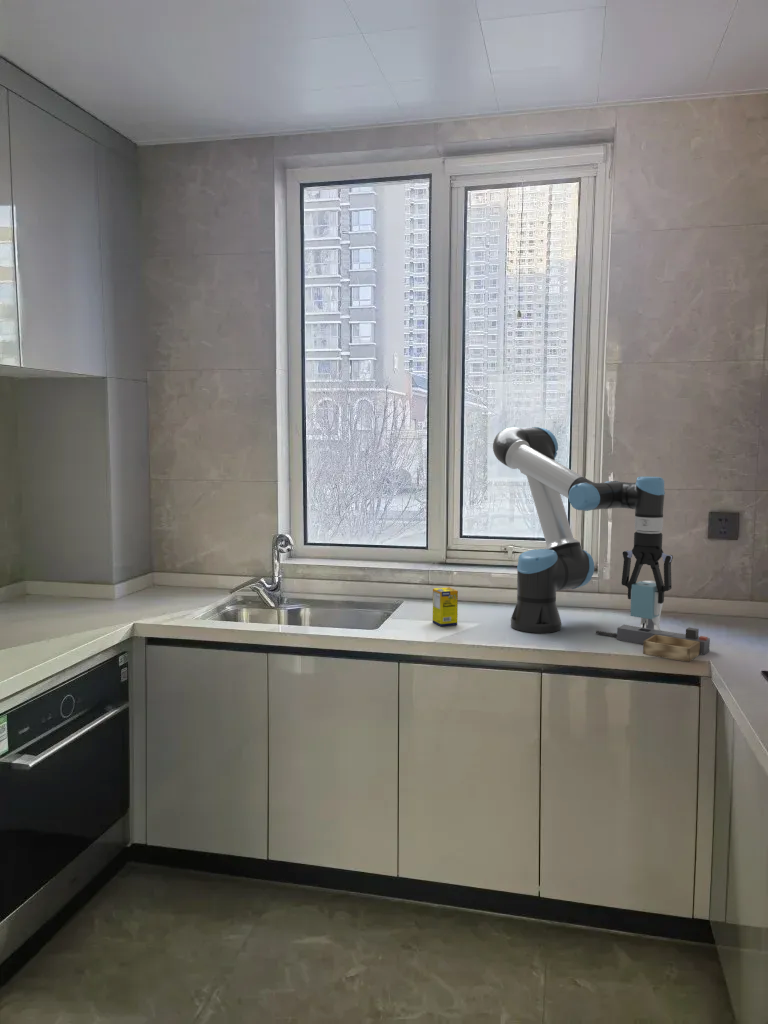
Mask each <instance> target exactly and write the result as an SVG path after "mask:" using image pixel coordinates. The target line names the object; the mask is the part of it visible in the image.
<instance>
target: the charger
mask: <svg viewBox="0 0 768 1024" xmlns="http://www.w3.org/2000/svg"><path fill="white" fill-rule="evenodd" d="M657 591H658V590H657V586H656V584H655V583H647V582H640V581H636V583H635V584H632V593H631V599H630V607H631V612H630V617H635V618H640V623H641V625H642V624H643V618H646V625H648V619H653V618H655V617H657V616H659V615H657V616H656V615H654V602H655V592H657Z"/></svg>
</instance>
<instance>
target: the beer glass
mask: <svg viewBox="0 0 768 1024" xmlns="http://www.w3.org/2000/svg"><path fill="white" fill-rule="evenodd" d="M639 582H647V583H655V584H656V582H655V580H652V579H651V580H648V579H647V580H646V579H645V580H640V581H639ZM663 605H664V602H663V603H662V604H660V614H659V616H657V617H655V618H653V619H648V625H646V618H643V624H642V625H641V622H640V624H639V627H642V628H648V629H655V630H661V626H660V624H661V623H660V622H661V621H660V619H661V614H662V610H663Z"/></svg>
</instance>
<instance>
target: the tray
mask: <svg viewBox="0 0 768 1024" xmlns="http://www.w3.org/2000/svg"><path fill="white" fill-rule="evenodd" d="M642 645H643V647H642V648H643V650H642V655H647V656H654V657H658V658H664V659H670V660H674V661H675V660H677V661H681V662H687V663H690V662H691V661H692V660H694V659H695V658H698V656H700V655H701V654H700V642H699V641H692V640H686V639H680V638H674V637H668V636H662V635H653V636H652V637H650V638H648V639H646V640H645V641H644V643H643V644H642Z"/></svg>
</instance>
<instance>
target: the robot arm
mask: <svg viewBox="0 0 768 1024" xmlns="http://www.w3.org/2000/svg"><path fill="white" fill-rule="evenodd" d="M492 449H493V451H492V452H493V453H494V456H495V457H496V459H497V460H498V461H499V462H500V463H502V464H503V465H504V466H506V467H508V468H510V469H512V470H517V469H518V470H519V471H520V474H523V475H525V476H526V479H527V481H528V486H529V489H530V492H531V495H532V499H533V503H534V506H535V509H536V513H537V516H538V519H539V524H540V527H541V530H542V534H543V537H544V540H545V544H546V546H545V548H538V549H529V550H526V551H524V552H522V553H520V554H519V556H518V558H517V560H518V561H517V567H516V569H517V576H516V577H517V578H516V579H517V583H516V585H517V586H516V588H517V589H516V595H517V596H516V603H515V606H514V609H513V611H512V614H511V618H510V627H511V628H512V629H514V630H517V631H520V632H525V633H535V634H537V633H538V634H547V633H548V634H550V633H554V632H558V631H560V630H561V629H562V619H561V617H560V612H559V609H558V605H557V592H558V591H563V590H570V589H572V590H573V589H574V590H575V589H577V588H581V587H583V586H586V585H587V584H588V583H590V581H591V580H592V578H593V576H594V573H595V562H594V559H593V556H592V555H591V554H590V553H588V551H586V550H584V549H583V548H582V545H581V542H580V541H579V540H577V539H575V538H574V537H573V533H572V529H571V526H570V521H569V520H568V519H569V518H568V514H567V512H566V509H565V506H564V503H563V499H562V496H564V497H565V498H567V499H568V502H569V504H570V505H571V507H572V508H573V509H575V510H576V511H577V510H578V511H584V512H589V511H597V510H604V509H605V510H606V509H609V510H611V509H630V510H634V530H635V532H634V534H633V547H632V550H625V551H622V557H623V565H622V573H621V574H622V576H621V585H622V586H625V587H626V588H627V599H628V600H631V593H632V584H635V583H637V582H638V578H639V575H640V572H641V571H642V567H643V566H644V565H647V566H650V569H651V570H652V574H653V578H654V579H653V580H654V581H655V582H656V586H657V590H658V591H657V592H655V602H654V615H656V616H657V615H659V614H660V604H662V603H663V604H664V601H665V592H668V591H670V590H671V589H672V562H673V559H674V555H673V554H667V553H664V550H663V534H662V532H663V529H664V503H665V495H666V492H665V479H664V478H663V477H661V476H642V475H641V476H638V477H637V478H636V482H628V481H627V482H626V481H618V480H614V481H613V480H610V481H609V480H608V481H604V482H594V481H592V480H591V479H588V478H586V477H584V476H583V475H581V474H579V473H578V472H575V471H574V470H571V468H569V467H567V466H564V465H563V464H561V463H559V462H557V461H556V457H557V456H558V452H557V451H559V443H558V439H557V438H556V436H555V434H554V433H553V432H552V431H550V430H549V429H547V428H544V427H540V426H532V427H516V426H514V427H513V426H512V427H511V426H510V427H507V428H504V429H502V430H501V431H499V432H498V433H497V434H496V436H495V437H494V440H493V442H492ZM561 495H562V496H561ZM633 556H634V558H635V559H636V560H635V563H634V567H633V570H632V572H631V566H632V565H631V563H632V558H633ZM661 558H662V561H663V577H662V574H661V573H662V572H661V569H660V563H659V561H660V559H661ZM630 574H631V576H630ZM629 612H630V613H631V606H630V611H629ZM660 615H661V614H660Z"/></svg>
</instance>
